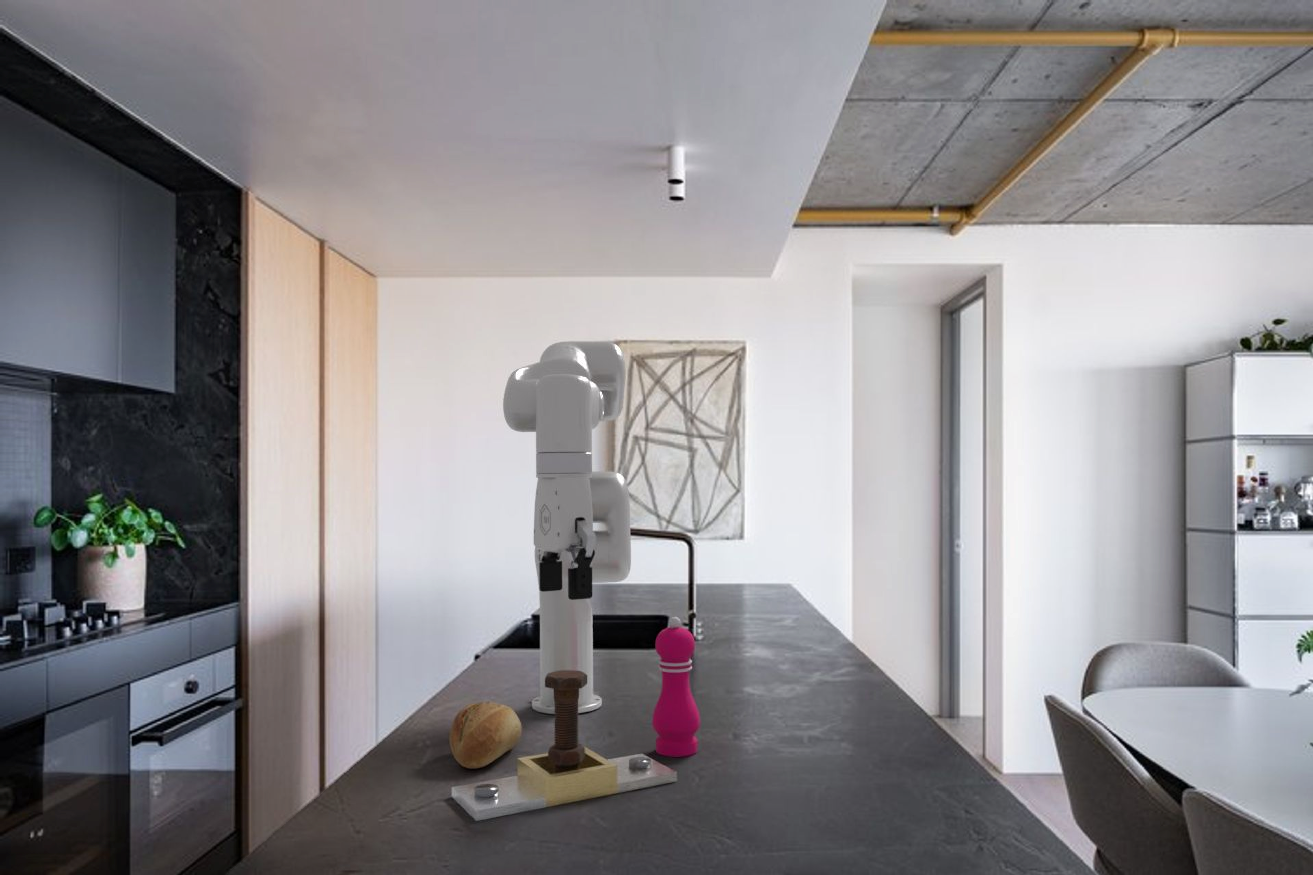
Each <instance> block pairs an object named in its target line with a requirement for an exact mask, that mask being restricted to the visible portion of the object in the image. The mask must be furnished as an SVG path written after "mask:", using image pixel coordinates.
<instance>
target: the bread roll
mask: <svg viewBox="0 0 1313 875" xmlns="http://www.w3.org/2000/svg"><path fill="white" fill-rule="evenodd" d="M522 730H523V729H522V723H521V721H520V718H519V716H518V715H517V713H516V712H515V711H514V710H513V709H512V708H511V707H510V706H507V705H505V704H502V703H497V702H490V701H482V702H475V703H471V704H469V705H467V706H465V707H464V708H462V709H461V710H459V712H458V713H456V716H454V719H453V721H452V724H451V728H450V732H449V740H448V742H449V746H450V750H451V752H452V755H453V757H454V759H455V760H456V762H457V763H458V764H459V765H461V766H462V767H464V768H466V769H480V768H484V767H485V766H488V765H489V764H490V763H492V762H494V761H495V760H497V759H498V758H499V757H501V756H502V755H504V754H505V753H507V752H508V751H510V750H512V749H513V748H514V747H515V746H516V745H517V744H518V742H519V741H520V738H521V736H522V732H523V731H522Z"/></svg>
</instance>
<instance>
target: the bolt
mask: <svg viewBox="0 0 1313 875" xmlns="http://www.w3.org/2000/svg"><path fill="white" fill-rule="evenodd" d="M586 684H587V675H586V674H585V673H584V672H582V671H575V670H560V671H554V672H551V673H548V674H547V675H546V677H545V687H547V688H552V689H554V702H555V703H554V705H555V706H554V707H555V709H554V710H555V711H554V712H555V714H554V722H553V724H554V727H553V728H554V737H553V738H554V742H553V743H554V744H551V746H550V747H549V749H548V751H547V753H548V760H549V761H550V762H551V763H552V764H555V774H557V773H562V772H568V771H573V770H578V769H579V768H578V766H579V765H578V764H579V763H581V762H582V761H583V759H584V756H585V748H584V747H585V746H584V745H582V744H581V743H579V736H580V735H579V722H580V721H579V714H580V713H579V712H578V699H579V689H581V688H583V687H584V686H585V685H586Z"/></svg>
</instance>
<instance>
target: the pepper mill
mask: <svg viewBox="0 0 1313 875" xmlns="http://www.w3.org/2000/svg"><path fill="white" fill-rule="evenodd" d="M668 624H669V627H666V628H664V629H662V630H661V631H660V632H659V633H657V634H658V635H656V638H655V645H654V646H655V651H656V654H658V656H659V658H660V659H659V660H658V664H659V667H658V670H659V671H660V672H661V678H662V679H661V680H662V681H661V691H660V694H659V697H658V701H657V703H656V705H655V707H654V710H653V714H652V720H651V721H652V728H653V729H654V731H655V732H656V734H657V735H658V737H657V738H656V739H655V751H656V754H658V755H661V756H665V757H668V758H669V757H670V758H678V757H679V758H683V757H689V756H693V755H694V754H696V753H697V752H698V739H697V738H696V736H695V734H696V733H697V731H699V729H700V726H701V716H700V713H699V710H698V706H697V705H696V702H695V699H694V697H693V694H692V692H691V691H692V690H691V688H690V680H689V679H690V671H691V670H692V669H693V666H692V663H693V660H692V659H691V656H692V655H693V653H694V652H695V650H696V642H695V637H694V636H693V633H691V631H689V630H688V629H687V628H684V627H681V619H680V618H679V617H677V616H672V617H671V618H670V619H669V620H668Z"/></svg>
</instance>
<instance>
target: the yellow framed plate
mask: <svg viewBox="0 0 1313 875" xmlns="http://www.w3.org/2000/svg"><path fill="white" fill-rule="evenodd" d="M583 747H584V748H585V756H584V759H583V761H582V762H581V763H579V764H578V765H579V766H578V768H579V769H578V770H573V771H568V772H562V773H557V774H555V764H552V763H551V762H550V761H549V760H548V752H546V753H540V754H533V755H528V756H523V757H522V756H521V757H518V758H516V760H517V763H516V764H517V766H516V767H517V768H516V769H517V772H516V773H517V775H514V776H513V775H512V776H507V777H502V778H496V779H491V780H485V781H480V782H479V781H478V782H473V783H468V784H463V785H457V786H452V787H451V798H452V799H454V801H455V802H456V803H457V804H459V806H460V807H461V808H462V809H464V810H465V812H466V813H467V814H468V815H469V816H470V817H471V818H473V820H474V821H475V822H478V821H483V820H489V819H492V818H498V817H503V816H508V815H513V814H518V813H524V812H528V811H533V810H539V809H543V808H549V807H554V806H558V805H564V804H570V803H574V802H579V801H585V800H588V799H594V798H598V797H599V798H600V797H605V796H609V795H614V794H621V793H624V792H628V791H629V792H630V791H634V790H639V789H645V788H650V787H655V786H660V785H661V786H662V785H665V784H670V783H676V782H678V772H677V771H676V770H673V769H671V768H670V767H668V766H667V765H664V764H662V763H660V762H658V761H656V760H655V759H653V758H651V757H649V756H648V755H645V754H644V753H638V754H632V755H626V756H621V757H620V756H619V757H614V758H609V759H606V758H605V757H603V756H601V755H599V754H598V753H596V752H595V751H592V749H590V748H588V747H586V746H583Z"/></svg>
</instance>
